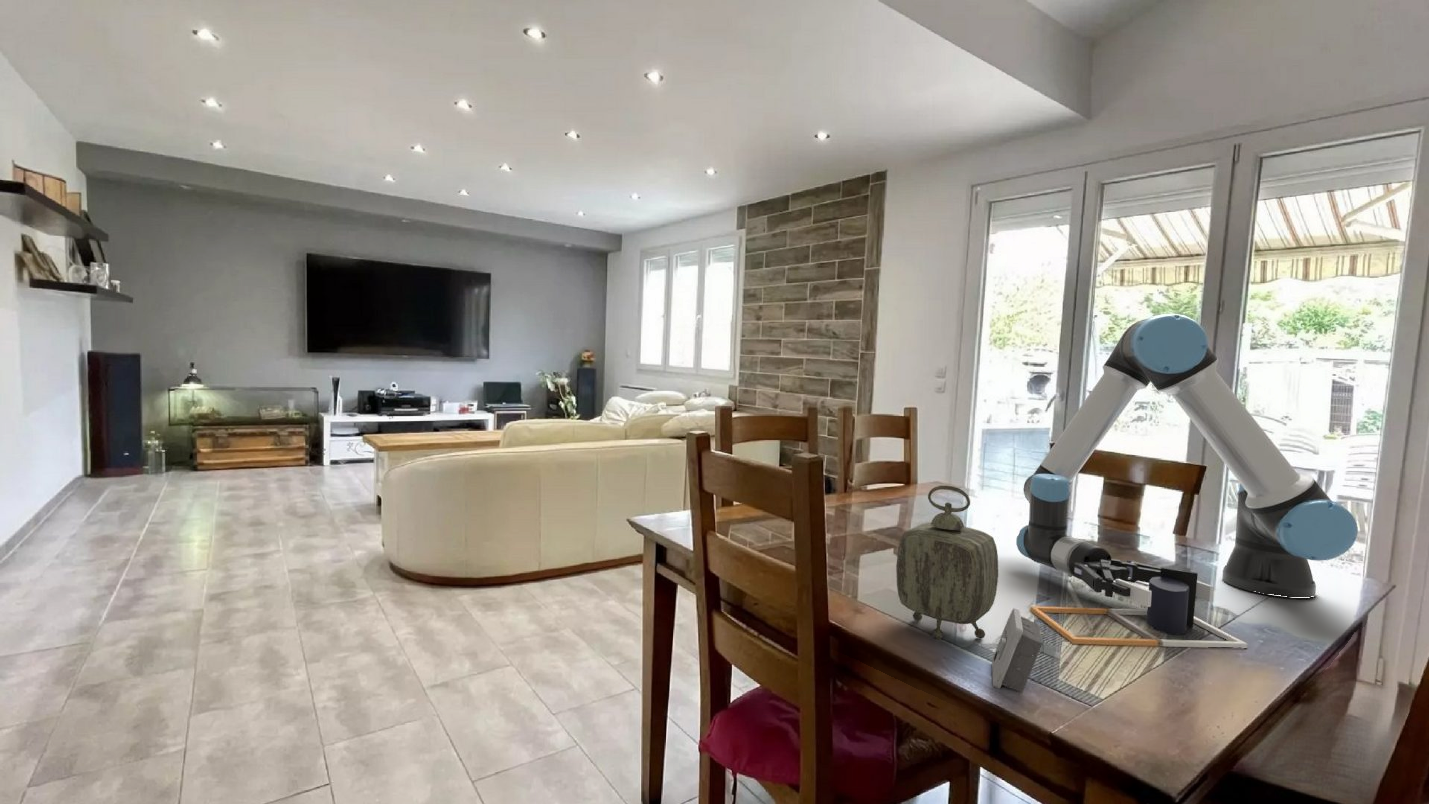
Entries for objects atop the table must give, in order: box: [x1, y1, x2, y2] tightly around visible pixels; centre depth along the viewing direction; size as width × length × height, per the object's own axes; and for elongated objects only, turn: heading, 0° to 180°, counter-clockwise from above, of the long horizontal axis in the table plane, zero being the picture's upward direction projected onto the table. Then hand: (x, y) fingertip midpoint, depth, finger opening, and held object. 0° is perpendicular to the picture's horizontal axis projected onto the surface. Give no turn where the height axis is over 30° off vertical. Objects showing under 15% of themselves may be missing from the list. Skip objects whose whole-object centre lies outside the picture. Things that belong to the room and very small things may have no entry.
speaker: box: [1146, 566, 1199, 635], centre depth 114 cm, size 8×6×10 cm
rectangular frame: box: [1029, 605, 1248, 649], centre depth 114 cm, size 28×15×1 cm, turn 90°
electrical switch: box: [991, 607, 1043, 693], centre depth 93 cm, size 9×5×9 cm, turn 158°
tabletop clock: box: [895, 485, 999, 640], centre depth 108 cm, size 14×9×25 cm, turn 50°
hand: (1181, 596), depth 112 cm, fingers open, 13 cm apart
